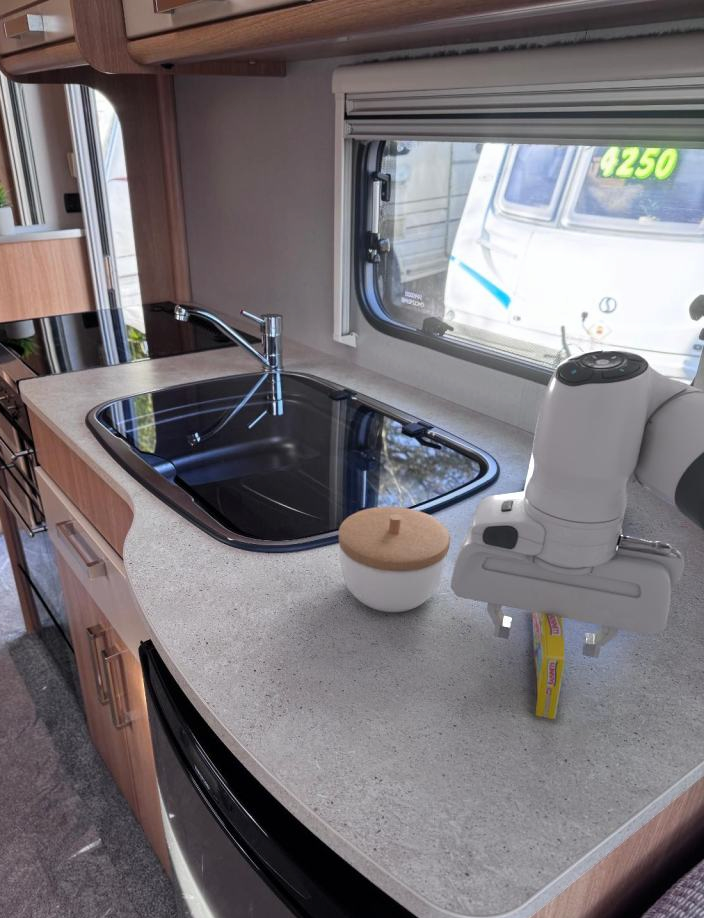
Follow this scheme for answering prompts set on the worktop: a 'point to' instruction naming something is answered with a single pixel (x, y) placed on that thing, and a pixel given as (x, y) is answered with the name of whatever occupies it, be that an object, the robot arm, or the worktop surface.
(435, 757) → the worktop surface
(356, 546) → the lidded bowl
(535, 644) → the candy box
